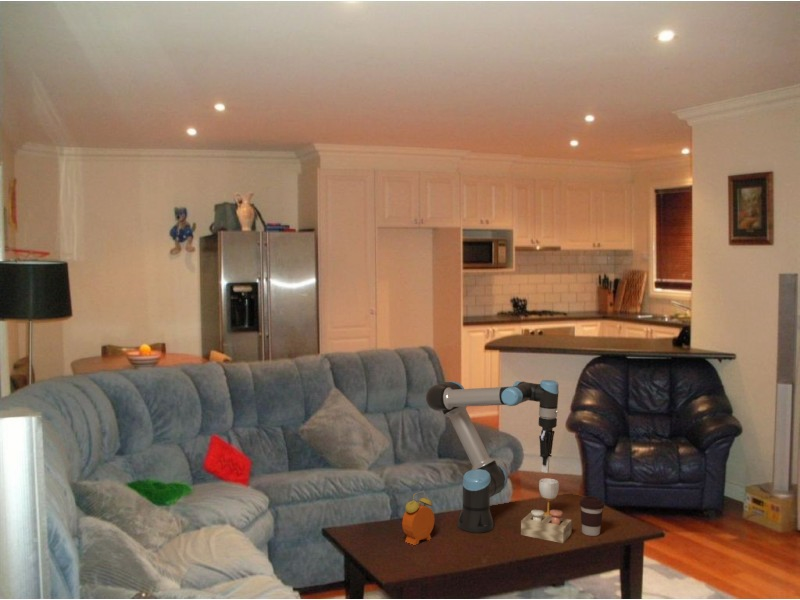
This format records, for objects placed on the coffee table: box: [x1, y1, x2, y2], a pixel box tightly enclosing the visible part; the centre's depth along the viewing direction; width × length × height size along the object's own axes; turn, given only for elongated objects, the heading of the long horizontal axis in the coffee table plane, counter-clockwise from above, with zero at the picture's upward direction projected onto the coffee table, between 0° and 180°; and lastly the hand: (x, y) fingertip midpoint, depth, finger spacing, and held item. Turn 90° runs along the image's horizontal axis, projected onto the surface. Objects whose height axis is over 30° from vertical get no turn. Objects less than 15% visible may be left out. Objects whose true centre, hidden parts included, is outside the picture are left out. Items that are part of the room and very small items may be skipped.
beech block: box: [520, 512, 573, 544], centre depth 312 cm, size 18×12×6 cm, turn 61°
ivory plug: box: [531, 509, 545, 521], centre depth 314 cm, size 5×5×8 cm
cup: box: [538, 477, 560, 516], centre depth 334 cm, size 9×9×16 cm
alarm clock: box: [401, 490, 436, 546], centre depth 302 cm, size 13×6×20 cm, turn 134°
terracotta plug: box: [549, 509, 563, 525], centre depth 310 cm, size 5×5×8 cm
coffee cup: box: [579, 495, 605, 537], centre depth 314 cm, size 10×10×15 cm
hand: (545, 471), depth 316 cm, fingers closed
